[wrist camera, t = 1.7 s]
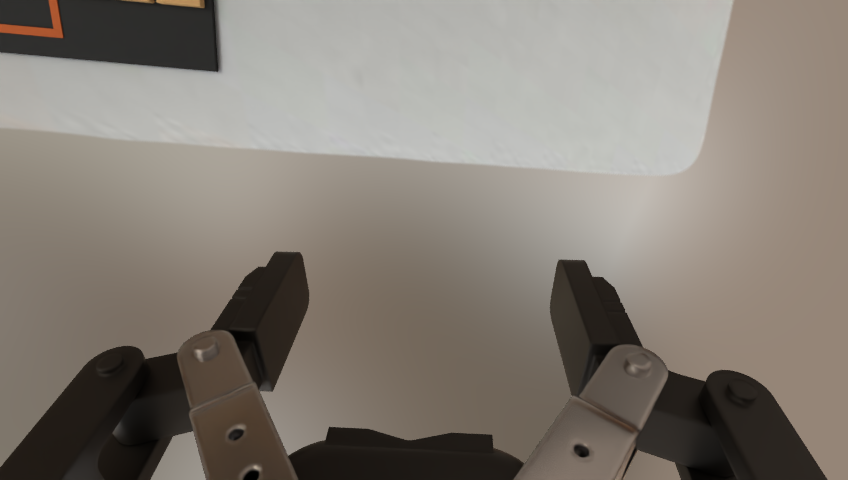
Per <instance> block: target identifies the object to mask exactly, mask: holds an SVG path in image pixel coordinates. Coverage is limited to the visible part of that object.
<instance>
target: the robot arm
mask: <svg viewBox="0 0 848 480" xmlns="http://www.w3.org/2000/svg"><path fill="white" fill-rule="evenodd" d="M308 304H309V289H308V284H307V278H306V273H305V267H304V262H303V257H302V255H301V253H300V252H275V253H274V254H273V256H272V258H271V259H270V261H269V263H268V264H267V266H266V267H258V268H256V269H255V270H254V271H252V272H251V273H250V274H248V275H247V276H246V277H245V278H244V280H243V281H242V283H241V284H240V286H239V287H238V290H236V292H235V293H234V295H233V297H232V299H231V300H230V301H229V303H228V304H227V306H226V307H225V309H224V310H223V312H222V313H221V315H220V316H219V318H218V319H217V321H216V322H215V324H214V325H213V327H212V328H211V330H209V331H205V332H202V333H199V334H197V335H195V336H193V337H191V338H190V339H188V340H187V341H186V342H185V343H184V344H183V345H182V346H181V347H180V349H179V350H178V352H177V353H174V354H169V355H164V356H159V357H154V358H149V359H145V357H144V355H143V353H142V351H141V350H140V349H138V348H136V347H132V346H122V347H116V348H113V349H110V350H107V351H105V352H103V353H101V354H99V355H97V356H96V357H94V358H93V359H91V360H90V361H89V362H88V363H87V364H86V365H85V366H84V367H83V368H82V370H81V371H80V372H79V373H78V374H77V376H76V377H75V378H74V379H73V380H72V382H71V383H70V384H69V385H68V386H67V388H66V389H65V390H64V391H63V392H62V394H61V395H60V396H59V397H58V398H57V400H56V401H55V402H54V403H53V405H52V406H51V407H50V408H49V409H48V410H47V412H46V413H45V414H44V415H43V417H42V418H41V419H40V420H39V421H38V423H37V424H36V425H35V426H34V427H33V429H32V430H31V431H30V432H29V433H28V435H27V436H26V437H25V438H24V439H23V441H22V442H21V443H20V444H19V446H18V447H17V448H16V449H15V450H14V452H13V453H12V454H11V455H10V456H9V458H8V459H7V460H6V461H5V462H4V464H3V465H2V466H1V467H0V480H150V479H151V477H152V475H153V473H154V471H155V469H156V468H157V466H158V464H159V462H160V460H161V458H162V456H163V454H164V452H165V450H166V448H167V447H168V445H169V443H170V441H171V439H172V437H173V436H175V435H178V434H183V433H187V432H191V431H193V432H194V436H195V440H196V443H197V447H198V451H199V455H200V458H201V462H202V466H203V470H204V473H205V478H206V480H623V479H624V478H625V476H626V474H627V472H628V469H629V467H630V465H631V463H632V461H633V459H634V457H635V455H636V453H637V451H638V450H640V451H643V452H645V453H649V454H651V455H655V456H657V457H660V458H663V459H667V460H669V461H672V462H675V464H676V467H677V470H678V472H679V475H680V478H681V480H827V478H826V477H825V475H824V474H823V472H822V471H821V469H820V467H819V466H818V464H817V463H816V461H815V460H814V458H813V457H812V455H811V454H810V452H809V451H808V449H807V447H806V446H805V444H804V443H803V441H802V440H801V438H800V437H799V435H798V434H797V432H796V431H795V429H794V428H793V426H792V424H791V423H790V422H789V420H788V418H787V417H786V415H785V414H784V412H783V411H782V409H781V408H780V406H779V404H778V403H777V401H776V400H775V398H774V397H773V395H772V394H771V393H770V392H769V391H768V390H767V388H765V387H764V386H763V385H762V384H760V383H759V382H758V381H756V380H755V379H753V378H751V377H749V376H747V375H744V374H741V373H739V372H735V371H730V370H719V371H715V372H713V373H711V374H710V375H709V376H708V378H707V380H706V382H705V381H701V380H697V379H694V378H690V377H687V376H683V375H680V374H677V373H674V372H671V371H669V370H668V369H667V367H666V365H665V363H664V362H663V361H662V360H661V359H660V357H658V356H657V355H656V354H655V353H653V352H651V351H650V350H647V349H645V348H643V346H642V344H641V342H640V340H639V338H638V336H637V334H636V332H635V330H634V328H633V325H632V323H631V321H630V319H629V317H628V315H627V313H625V309H624V307H623V305H622V303H620V298H619V296H618V294H617V292H616V290H615V288H614V287H613V286H612V285H611V284H609V283H608V282H607V281H606V280H605V279H604V278H603V277H592V275H591V273H590V271H589V268H588V266H587V264H586V262H585V261H584V260H559V261H558V263H557V267H556V273H555V278H554V283H553V289H552V295H551V302H550V313H551V319H552V324H553V327H554V331H555V335H556V339H557V342H558V346H559V349H560V353H561V357H562V361H563V365H564V368H565V372H566V376H567V380H568V383H569V387H570V391H571V395H572V397H571V398H570V399H569V401H568V402H567V403H566V405H565V406H564V408H563V409H562V411H561V412H560V414H559V415H558V416H557V418H556V419H555V421H554V422H553V424H552V425H551V426H550V428H549V429H548V431H547V432H546V434H545V435H544V436H543V438H542V439H541V441H540V442H539V444H538V445H537V446H536V448H535V449H534V451H533V452H532V454H531V455H530V456H529V458H528V459H527V461H526V462H525V464H524V463H523V462H521V461H520V460H519V459H517V458H515V457H513V456H512V455H510V454H508V453H505V452H503V451H501V450H498V449H495V448H493V441H492V440H493V439H492V435H486V434H464V433H448V434H444V435H438V436H432V437H428V438H422V439H417V440H404V439H400V438H397V437H394V436H390V435H387V434H384V433H380V432H377V431H374V430H370V429H359V428H338V427H337V428H336V427H329V429H328V433H327V437H326V440H325V441H320V442H316V443H313V444H310V445H308V446H306V447H303V448H301V449H299V450H297V451H296V452H294V453H292V454H291V455H289V456H288V455H287V453H286V450H285V448H284V446H283V443H282V441H281V439H280V437H279V434H278V432H277V430H276V428H275V425H274V423H273V421H272V419H271V416H270V414H269V412H268V410H267V407H266V405H265V403H264V401H263V398H262V396H261V394H260V391H273V390H274V387H275V385H276V383H277V380H278V378H279V375H280V373H281V371H282V368H283V366H284V363H285V361H286V359H287V356H288V354H289V351H290V349H291V347H292V345H293V342H294V340H295V337H296V335H297V333H298V330H299V328H300V326H301V323H302V321H303V318H304V316H305V314H306V311H307V308H308Z"/></svg>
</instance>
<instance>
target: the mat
mask: <svg viewBox="0 0 848 480" xmlns="http://www.w3.org/2000/svg"><path fill="white" fill-rule="evenodd" d="M0 52H7V53H18V54H29V55H40V56H51V57H63V58H74V59H85V60H96V61H107V62H118V63H129V64H140V65H151V66H162V67H173V68H184V69H196V70H207V71H218V63H217V48H216V32H215V17H214V2H213V0H0Z"/></svg>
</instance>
